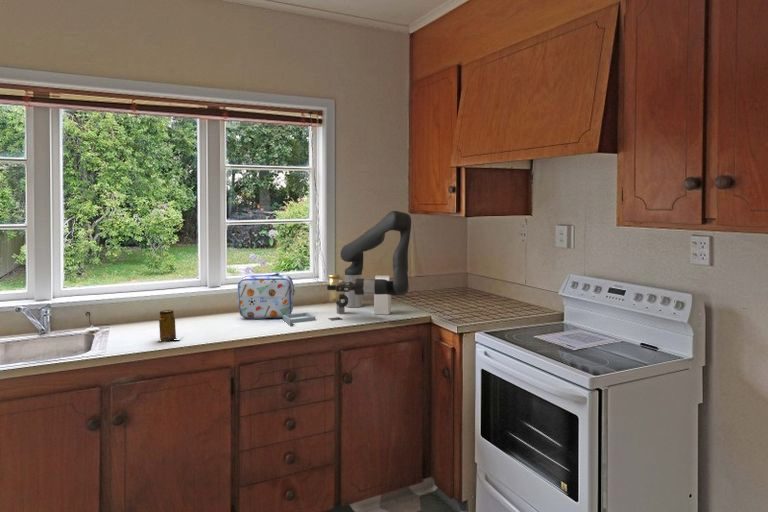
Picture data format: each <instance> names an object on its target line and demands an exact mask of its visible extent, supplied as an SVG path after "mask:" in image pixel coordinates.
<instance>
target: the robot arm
mask: <svg viewBox="0 0 768 512" xmlns="http://www.w3.org/2000/svg"><path fill="white" fill-rule="evenodd" d="M411 230H412V217H411V214H409V213H406V212H403V211H398V210H391V211H390V212H388V213H387V214H386V215H385V216H384V217H383V218H382V219H381V220H380V221H379V222H378V223H376V224H374V226H372V227H371V228H369V229H368V230H366V231H365V232H364V233H363V234H361V235H360V236H359V237H356V239H355V240H354V239H353V241H351V242H349V243H347V244H345V245H344V246H343V247H342V248H341V250H340V258H341V260H343V261H344V262H346V263H351V264H350V265H349V266H348V267H346V268H345V269H344V281H343V282H342V281H339V285H329V284H328V285H327V286H326V287H327V291H330V290H336V291H337V292H338V291H339V293H344V295H346V296H347V297H348V304H347V305H346V306H345V307H346V308H361V307H363V305H364V304H363V296H372V295H373V296H374V294H388V295H391V296H396V297H397V296H399V297H400V296H401V297H402V296H405V295H406V294H407V293H408V292H409V289H410V288H409V285H410V284H409V275H408V274H409V258H408V257H409V246H410V245H409V244H410V239H411ZM390 231H395V232H400V233H399V236H400V240H399V242H398V244H397V246H396V248H395V250H394V251H393V255H392V271H393V276H392V277H393V278H392V280H390V281H387V280H385V279H375V278H363V269H364V252H367V251H368V252H369V251H370V250H373V249H375V248H377V247H378V246H381V244H383V242H384V241H385V237H386V233H388V232H390Z"/></svg>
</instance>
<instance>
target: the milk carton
mask: <svg viewBox="0 0 768 512" xmlns="http://www.w3.org/2000/svg"><path fill="white" fill-rule="evenodd" d="M374 279H385V280H387V281H391V279H390V275H375V277H374ZM373 297H374V298H373V300H374V301H373V305H374V315H387V316H388V315H390V313H391V312H392V295H388V294H374V295H373Z"/></svg>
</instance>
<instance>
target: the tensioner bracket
mask: <svg viewBox="0 0 768 512" xmlns="http://www.w3.org/2000/svg"><path fill="white" fill-rule="evenodd" d="M335 304H336V314H338V315H344V314H346V313H345V312H346V310H345V307H346V305H347V304H348V297H347V296H346V295H345V292H339V301H336V302H335ZM327 319H328V320H330V321H331V322H333V321H342V320H344V319H343V318H341V317H338V316H337V317H329V318H327Z"/></svg>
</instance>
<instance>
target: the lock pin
mask: <svg viewBox="0 0 768 512" xmlns="http://www.w3.org/2000/svg"><path fill="white" fill-rule="evenodd" d="M340 276H341V275H340V274H339V273H331V274H328V276H327V277H328V278H329V279H328V280H329V284H328V285H339V282H340ZM339 293H340V291H338V292H337V291H336V290H329V302H334V303H336V301H339Z"/></svg>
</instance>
